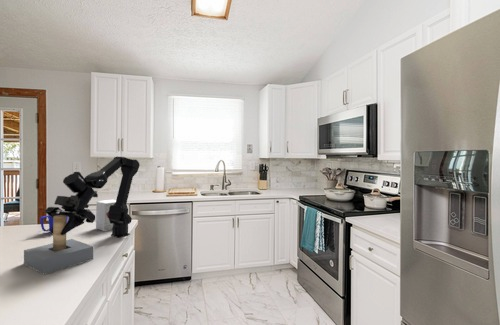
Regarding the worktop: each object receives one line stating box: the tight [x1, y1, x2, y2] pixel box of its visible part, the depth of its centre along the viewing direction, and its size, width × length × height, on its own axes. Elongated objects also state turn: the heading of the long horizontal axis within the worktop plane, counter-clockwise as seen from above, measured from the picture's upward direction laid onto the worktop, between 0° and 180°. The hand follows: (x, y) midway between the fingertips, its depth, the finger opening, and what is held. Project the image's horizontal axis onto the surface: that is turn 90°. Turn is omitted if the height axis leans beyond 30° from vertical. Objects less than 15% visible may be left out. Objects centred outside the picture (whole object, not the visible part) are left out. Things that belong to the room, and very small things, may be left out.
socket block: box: [23, 238, 94, 275], centre depth 99 cm, size 16×16×5 cm
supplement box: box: [95, 199, 116, 232], centre depth 144 cm, size 9×9×15 cm
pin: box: [52, 215, 67, 252], centre depth 98 cm, size 4×4×13 cm
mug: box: [39, 214, 67, 233], centre depth 133 cm, size 8×12×10 cm
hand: (56, 234), depth 97 cm, fingers closed on pin, 4 cm apart
